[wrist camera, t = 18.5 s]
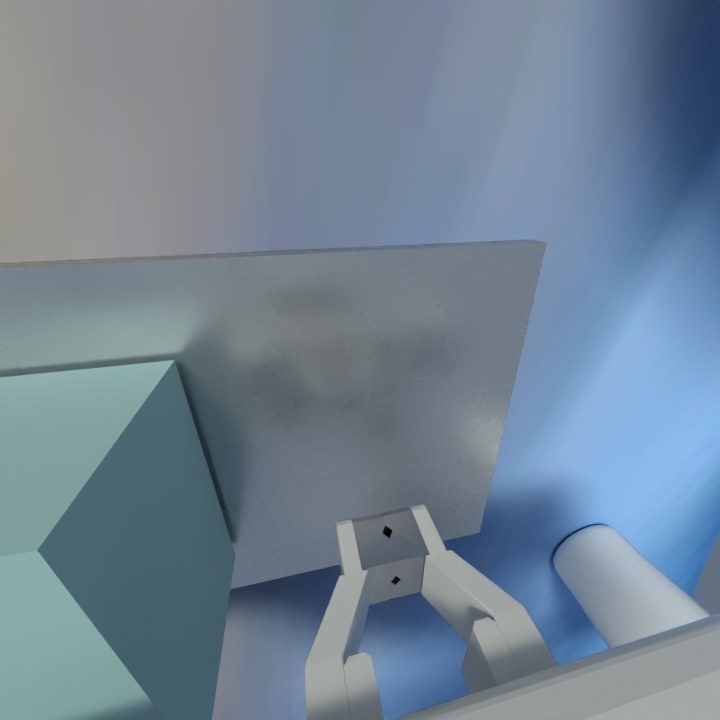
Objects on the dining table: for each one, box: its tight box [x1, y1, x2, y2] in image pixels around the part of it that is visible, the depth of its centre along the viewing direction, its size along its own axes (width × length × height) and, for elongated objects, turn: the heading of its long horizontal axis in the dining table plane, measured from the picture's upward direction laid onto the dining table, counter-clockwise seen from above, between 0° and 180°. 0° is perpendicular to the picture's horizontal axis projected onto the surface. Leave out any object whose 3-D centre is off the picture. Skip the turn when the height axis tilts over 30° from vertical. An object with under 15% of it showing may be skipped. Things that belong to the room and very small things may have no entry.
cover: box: [0, 360, 235, 720], centre depth 9 cm, size 10×9×6 cm
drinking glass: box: [553, 525, 712, 649], centre depth 17 cm, size 7×7×15 cm
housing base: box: [0, 240, 547, 589], centre depth 11 cm, size 16×32×5 cm, turn 91°
